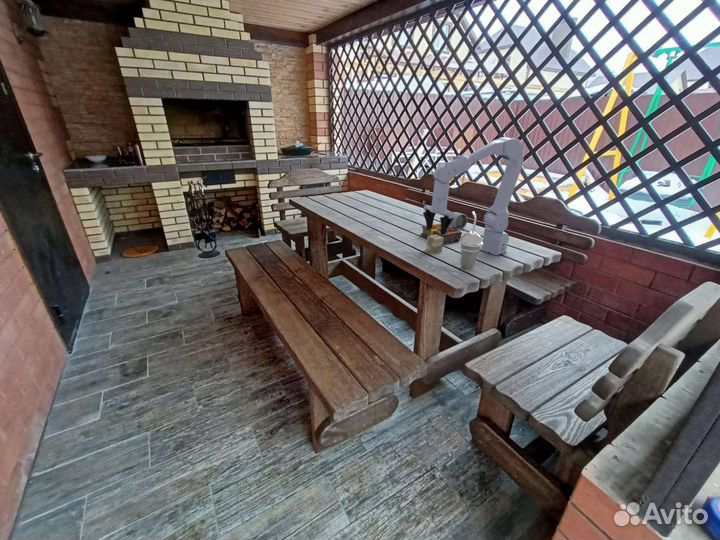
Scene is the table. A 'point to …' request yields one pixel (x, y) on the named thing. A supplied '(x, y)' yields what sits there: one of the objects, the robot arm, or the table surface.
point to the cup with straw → (470, 247)
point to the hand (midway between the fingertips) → (436, 231)
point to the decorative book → (449, 237)
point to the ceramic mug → (458, 221)
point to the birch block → (434, 243)
